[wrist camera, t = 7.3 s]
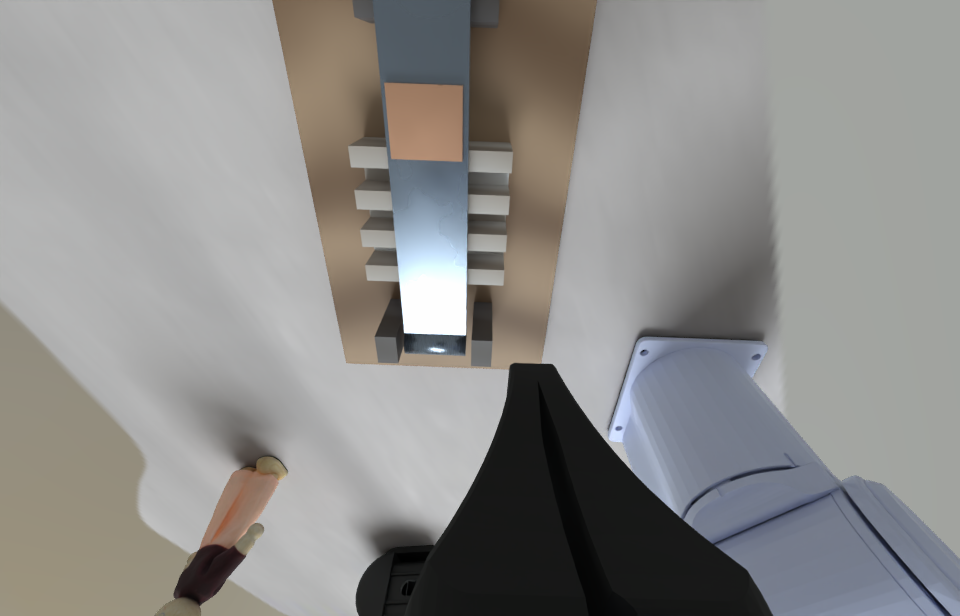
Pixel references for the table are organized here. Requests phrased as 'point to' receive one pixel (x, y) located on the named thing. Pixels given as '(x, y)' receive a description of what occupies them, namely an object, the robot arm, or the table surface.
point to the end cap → (390, 581)
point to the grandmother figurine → (226, 536)
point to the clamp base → (492, 169)
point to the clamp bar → (428, 162)
